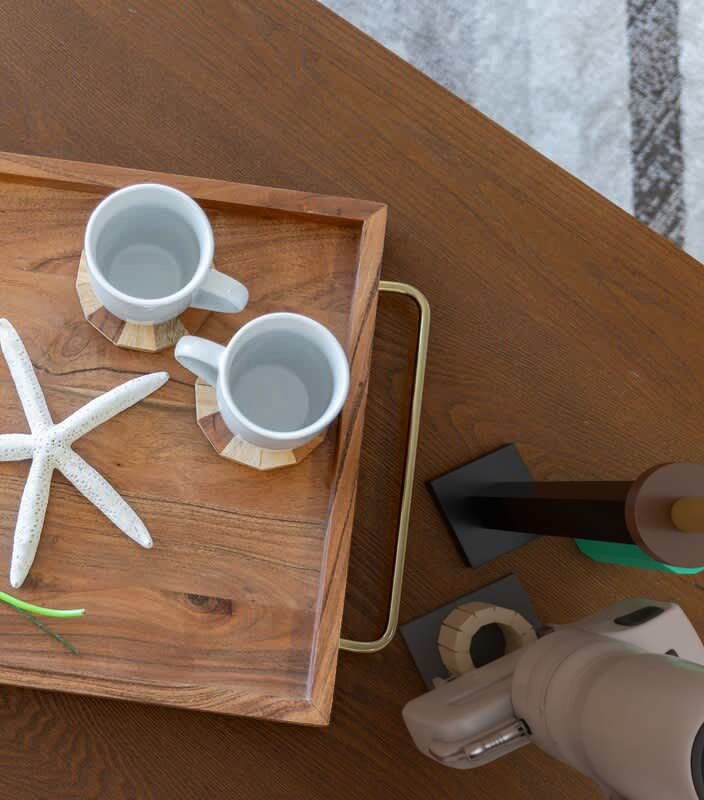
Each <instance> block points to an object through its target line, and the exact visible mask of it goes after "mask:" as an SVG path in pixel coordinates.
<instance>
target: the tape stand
mask: <svg viewBox="0 0 704 800" xmlns="http://www.w3.org/2000/svg"><path fill="white" fill-rule="evenodd" d="M526 465H527V464H526V463H525V462H524V460H523V458H522V456H521V453H520V452H519V450H518V448H517V446H516V444H515V442H507V443H503V444H501V445H499V446H498V447H495V448H493V449H491V450H488V451H487V452H484V453H482V454H480V455H478V456H476V457H473V458H472V459H470V460H467V461H465V462H463V463H461V464H459V465H457V466H455V467H452V468H451V469H448V470H446V471H444V472H441V473H440V474H438V475H436V476H433V477H430V478H429V479H426V480H425V481H424V482H423V484H424V485H425V487H426V489H427V491H428V493H429V495H430V497H431V499H432V501H433V503H434V506H435V508H436V510H437V512H438V514H439V516H440V518H441V520H442V522H443V524H444V526H445V527H446V530H447V532H448V535H449V536H450V539H451V540H452V542H453V545H454V546H455V547H456V548H455V549H456V550H457V552H458V555H459V556H460V559H461V561H462V563H463V565H464V566H465V567H464V568H467V569H472V570H473V569H476V568H478V567H480V566H482V565H484V564H487V563H489V562H491V561H493V560H495V559H497V558H499V557H502V556H503V555H506V554H508V553H509V552H512V551H515V550H516V549H518V548H520V547H522V546H524V545H526V544H528V543H531V542H533V541H535V540H537V539H539V538H541V537H543V536H546V537H547V536H548V537H558V538H567V539H573V540H574V539H583V540H592V541H601V542H610V543H619V544H629V545H637V546H638V547H639V548H640V550H641V551H642V552H643V553H645V554H646V555H647V556H648V557H650V558H651V559H653V560H655V561H657V562H659V563H661V564H664V565H668V566H673V567H680V568H700V567H704V464H701V463H697V462H693V461H667V462H661V463H659V464H655V465H653V466H651V467H649V468H647V469H645V471H643V472H642V473H641V474H639V475H638V476H637V477H636V479H635V480H560V481H559V480H555V481H554V480H553V481H552V480H551V481H548V480H547V481H546V480H545V481H534V480H533V477H532V476H531V473H530V472H529V469H528V468H527V466H526Z"/></svg>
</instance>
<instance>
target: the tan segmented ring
mask: <svg viewBox="0 0 704 800" xmlns="http://www.w3.org/2000/svg"><path fill="white" fill-rule="evenodd" d="M457 608H458V609H454V610H453V611H452V612H451V613H450V614H449V615H448V617H447V618H446V619H445V620H444V621H443V623H444V624H445V625H441V629H440V634H439V639H438V644H441V645H439V646H438V648H439V651H440V654H441V657H442V660H443V663H444V665H446V668H447V669H448V670H449V671H450V672H451V673H452V674H454V675H455V676H456V677H457V678H459V677H461V676H463V675H465V674H467V673H469V672H472V671H474V670H476V668H475V667H474V666H473V663H472V660H471V657H470V654H469V649H470V644H471V638H472V636H473V635H474V634H475V633H476V632H477V631H478V629H479V628H480V627H481V626H484V625H487V624H490V623H493V622H495V623H496V624H497V625H498V626H499V627H500V628H501V629H502V631H503V634H504V637H505V640H506V647H505V652H504V656H505V655H507V654H509V653H511V652H513V651H515V650H517V649H520V648H522V647H524V646H526V645H528V644H530V643H532V642H534V641H536V640H538V639H537V636H536V633H535V630H534V629H532V625H530V624H529V623H528V622H527V621H526V620H525V619H524V618H523V617H522V616H521V615H520V614H519V613H517V612H515V611H513V610H509V609H506V608H503V607H499V606H496V605H492V604H488V603H484V602H480V601H478V602H475V601H474V602H471V603H467V604H464V605H461V606H458V607H457Z"/></svg>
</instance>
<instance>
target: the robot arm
mask: <svg viewBox="0 0 704 800" xmlns="http://www.w3.org/2000/svg"><path fill="white" fill-rule="evenodd" d="M542 626H543V627H541V628H539V629H537V630H535V633H536V636H537V637H538V638H540V639H538V640H536V641H534V642H532V643H530V644H528V645H526V646H524V647H522V648H520V649H517V650H515V651H513V652H511V653H509V654H507V655H505V656H503V657H501V658H499V659H497V660H494V661H492V662H490V663H488V664H486V665H484V666H482V667H480V668H478V669H476V670H474V671H472V672H469V673H467V674H465V675H463V676H461V677H459V678H456V676H455V675H454V674H450V672H447V673H445V674H443V675H441V676H438V677H436V678H434V679H433V683H434V685H435V687H436V689H434V690H432V691H430V692H429V691H428V692H426V693H423V694H422V695H421V694H420V695H419V696H417V697H415V698H413V699H411V700H409V701H408V702H406V703H405V705H404V707H403V708H402V710H401V716H402V719H403V721H404V723H405V724H404V725H405V726H406V728H407V730H408V733H409V735H410V736H411V738H412V740H413V743H414V744H415V746H416V748H417V749H418V750H419V751H420V752H421V753H422V754H423V755H425V756H426V757H428V758H429V759H432V760H434V761H435V762H438V763H440V764H442V765H444V766H447V767H450V768H453V769H457V770H470V769H471V770H472V769H475V768H478V767H481V766H483V765H486V764H489V763H491V762H492V761H495V760H497V759H499V758H501V757H503V756H505V755H507V754H509V753H511V752H513V751H515V750H517V749H519V748H522V747H524V746H525V745H528V744H530V743H533V744H534V745H535V746H536V747H537V748H538V749H539V750H541V751H543V752H544V753H546V754H547V755H549V756H551V757H552V758H554V759H556V760H557V761H559V762H561V763H562V764H564V765H566V766H567V767H569V768H571V769H573V770H574V771H576V772H577V773H579V774H580V775H583V776H585V777H586V778H588V779H590V780H591V781H593V782H594V783H595V784H597V785H598V786H599V788H600V790H601V792H602V794H603V800H704V644H703V642H702V640H701V638H700V636H699V634H698V633H697V631H696V629H695V628H694V625H693V624H692V623H691V621H690V619H689V618H688V616H687V614H685V612H684V610H683V609H682V608H681V606H680V605H679V604H677V603H675V602H671V601H670V602H669V601H658V600H655V599H650V598H644V597H630V598H626V599H621V600H617V601H615V602H613V603H611V604H610V605H608V606H605V607H603V608H601V609H599V610H597V611H595V612H592V613H591V614H589V615H586V616H584V617H582V618H580V619H578V620H576V621H573V622H567V623H562V624H557V623H554V622H550V623H547V624H545V625H542Z"/></svg>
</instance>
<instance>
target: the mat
mask: <svg viewBox="0 0 704 800" xmlns="http://www.w3.org/2000/svg"><path fill="white" fill-rule="evenodd" d="M474 601H475V602H478V601H480V602H484V603H488V604H492V605H496V606H499V607H503V608H506V609H509V610H513V611H515V612H517V613H519V614H520V615H521V616H522V617H523V618H524V619H525V620H526V621H527V622H528V623H529V624H530V625H532V629H534V630H537V629H539V628H541V627H543V626H544V625H542V622H541V620H540V618H539V617H538V615H537V612H536V610H535V608H534V607H533V605H532V601H531V600H530V598H529V596H528V594H527V592H526V590H525V588H524V586H523V584H522V582H521V580H520V578H519V575H518V574H517V573H516V572H515V571H512V572H510V573H508V574H506V575H503V576H501V577H499V578H496V579H495V580H493V581H491V582H489V583H487V584H485V585H482V586H480V587H478V588H476V589H474V590H472V591H470V592H468V593H465V594H463V595H462V596H460V597H457V598H455V599H453V600H451V601H449V602H447V603H445V604H443V605H440V606H439V607H436V608H435V609H433V610H430V611H428V612H426V613H424V614H422V615H420V616H418V617H416V618H413V619H411V620H409V621H408V622H405V623H403V624H402V625H398V627H397V628H398V632H399V633H400V635H401V637H402V639H403V641H404V643H405V645H406V647H407V650H408V652H409V654H410V656H411V658H412V660H413V662H414V664H415V666H416V668H417V670H418V672H419V675H420V676H421V678H422V681H423V683H424V685H425V688H426V689H427V691H428V692H430V691H432V690H434V689H436V687H435V685H434V683H433V679H434V678H436V677H438V676H441V675H443V674H445V673H447V672H450V671H449V670H448V669H447V668H446V665H444V663H443V660H442V657H441V654H440V651H439V648H438V646H439V645H441V644H438V639H439V634H440V629H441V625H445V624H444V623H443V621H444V620H445V619H446V618H447V617H448V615H449V614H450V613H451V612H452V611H453V610H454V609H458V608H457V607H458V606H461V605H464V604H467V603H471V602H474ZM537 639H540V638H538V637H537ZM505 647H506V640H505V637H504V634H503V631H502V629H501V628H500V627H499V626H498V625H497V624H496V623H495V622H493V623H490V624H487V625H484V626H481V627H480V628H479V629H478V631H477V632H476V633H475V634H474V635H473V636H472V638H471V644H470V649H469V654H470V657H471V660H472V663H473V666H474V667H475V668H476V669H478V668H480V667H482V666H484V665H486V664H488V663H490V662H492V661H494V660H497V659H499V658H501V657H503V656H504V652H505ZM450 674H452V673H451V672H450ZM456 678H457V677H456Z"/></svg>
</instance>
